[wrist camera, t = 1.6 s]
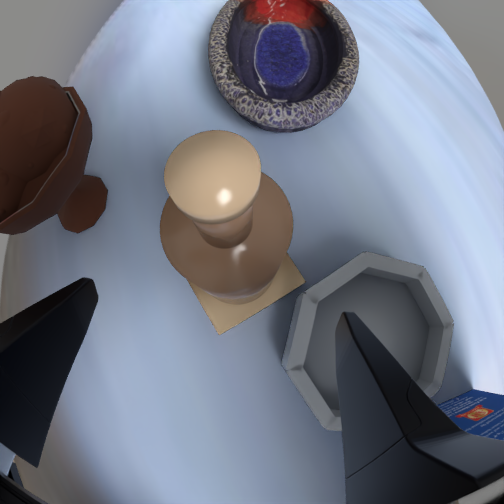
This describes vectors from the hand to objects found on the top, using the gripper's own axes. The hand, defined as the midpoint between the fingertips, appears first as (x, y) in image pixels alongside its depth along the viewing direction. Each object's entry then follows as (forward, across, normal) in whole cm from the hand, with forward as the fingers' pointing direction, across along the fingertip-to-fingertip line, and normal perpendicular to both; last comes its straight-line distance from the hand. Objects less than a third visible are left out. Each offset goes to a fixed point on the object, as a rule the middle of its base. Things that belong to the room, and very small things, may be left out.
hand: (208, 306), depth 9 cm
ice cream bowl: (+13, +14, +3) cm, 20 cm away
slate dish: (+6, -10, +9) cm, 15 cm away
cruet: (+10, 0, +5) cm, 11 cm away
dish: (+28, -2, -12) cm, 31 cm away
